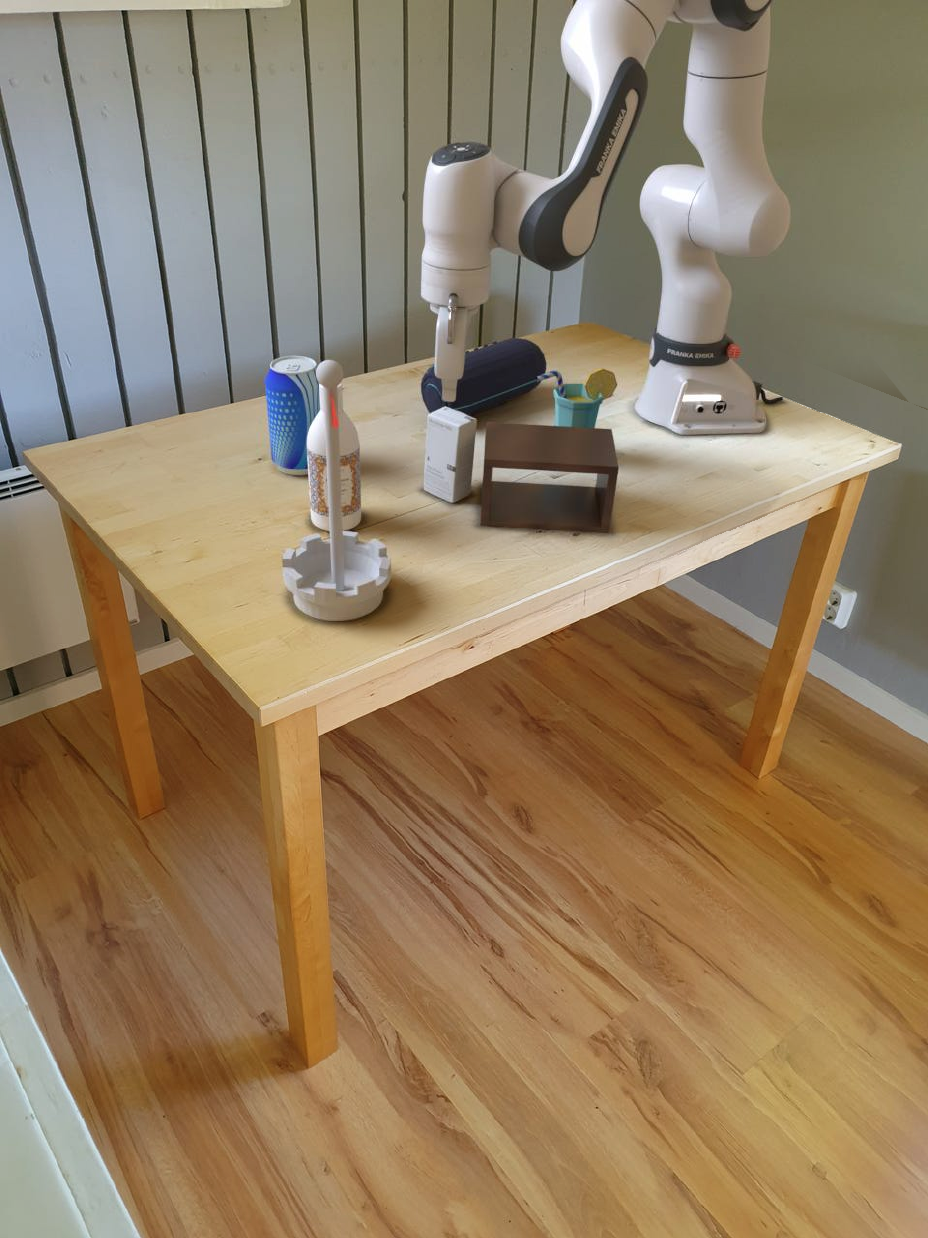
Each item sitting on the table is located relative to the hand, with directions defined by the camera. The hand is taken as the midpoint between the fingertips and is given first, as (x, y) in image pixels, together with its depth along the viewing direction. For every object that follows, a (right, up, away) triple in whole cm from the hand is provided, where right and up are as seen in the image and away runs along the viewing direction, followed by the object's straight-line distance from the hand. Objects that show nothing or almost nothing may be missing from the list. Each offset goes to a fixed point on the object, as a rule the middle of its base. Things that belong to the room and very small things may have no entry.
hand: (451, 385), depth 132 cm
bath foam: (-16, -18, +2) cm, 25 cm away
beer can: (-23, -9, +15) cm, 29 cm away
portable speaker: (+5, +5, +36) cm, 36 cm away
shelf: (+13, -16, +7) cm, 22 cm away
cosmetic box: (-1, -13, +10) cm, 17 cm away
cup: (+18, -6, +21) cm, 28 cm away
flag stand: (-14, -29, -13) cm, 35 cm away
